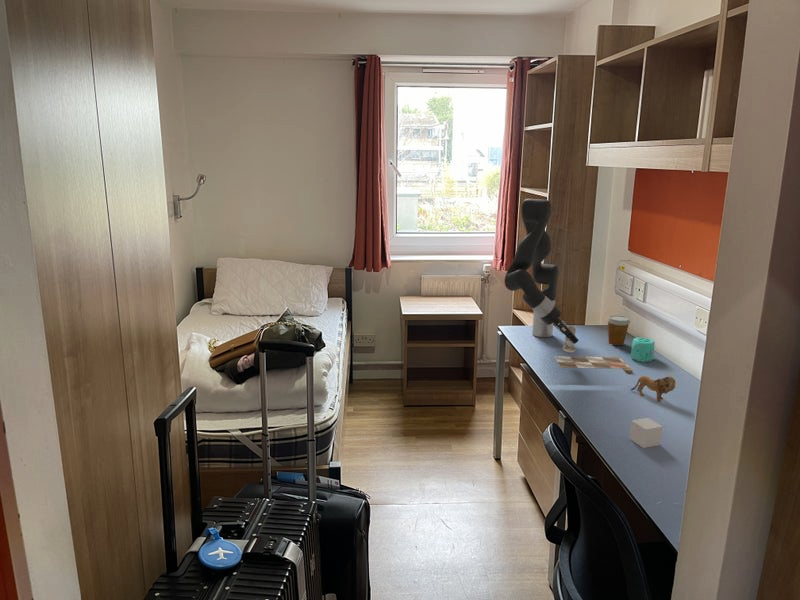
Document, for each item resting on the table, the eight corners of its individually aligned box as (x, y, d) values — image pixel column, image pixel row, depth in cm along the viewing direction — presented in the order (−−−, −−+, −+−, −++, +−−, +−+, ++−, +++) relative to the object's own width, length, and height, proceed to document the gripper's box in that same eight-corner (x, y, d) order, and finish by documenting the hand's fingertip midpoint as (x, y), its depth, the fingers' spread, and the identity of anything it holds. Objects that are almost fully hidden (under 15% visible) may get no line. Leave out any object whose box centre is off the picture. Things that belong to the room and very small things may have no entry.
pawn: (561, 348, 231) (563, 323, 229) (573, 348, 231) (575, 323, 229) (564, 352, 227) (566, 327, 224) (576, 352, 227) (579, 327, 224)
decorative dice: (630, 360, 241) (632, 341, 239) (632, 354, 247) (634, 336, 245) (651, 363, 237) (653, 344, 235) (652, 357, 244) (655, 339, 242)
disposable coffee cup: (618, 339, 266) (621, 314, 263) (632, 346, 257) (635, 320, 255) (600, 341, 264) (602, 315, 261) (613, 348, 255) (616, 321, 252)
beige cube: (645, 436, 176) (648, 417, 175) (660, 445, 171) (662, 426, 169) (629, 438, 174) (631, 420, 173) (643, 448, 169) (646, 429, 167)
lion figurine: (675, 400, 201) (679, 376, 199) (670, 405, 198) (673, 380, 195) (633, 389, 211) (636, 365, 209) (627, 393, 207) (629, 369, 205)
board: (550, 358, 241) (550, 355, 241) (618, 359, 241) (619, 356, 240) (559, 372, 226) (559, 368, 226) (632, 373, 226) (632, 369, 226)
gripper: (557, 308, 217) (588, 339, 220) (549, 298, 231) (577, 328, 234) (542, 321, 219) (572, 353, 222) (534, 311, 232) (563, 340, 235)
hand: (575, 340), depth 228 cm, fingers closed on pawn, 3 cm apart
